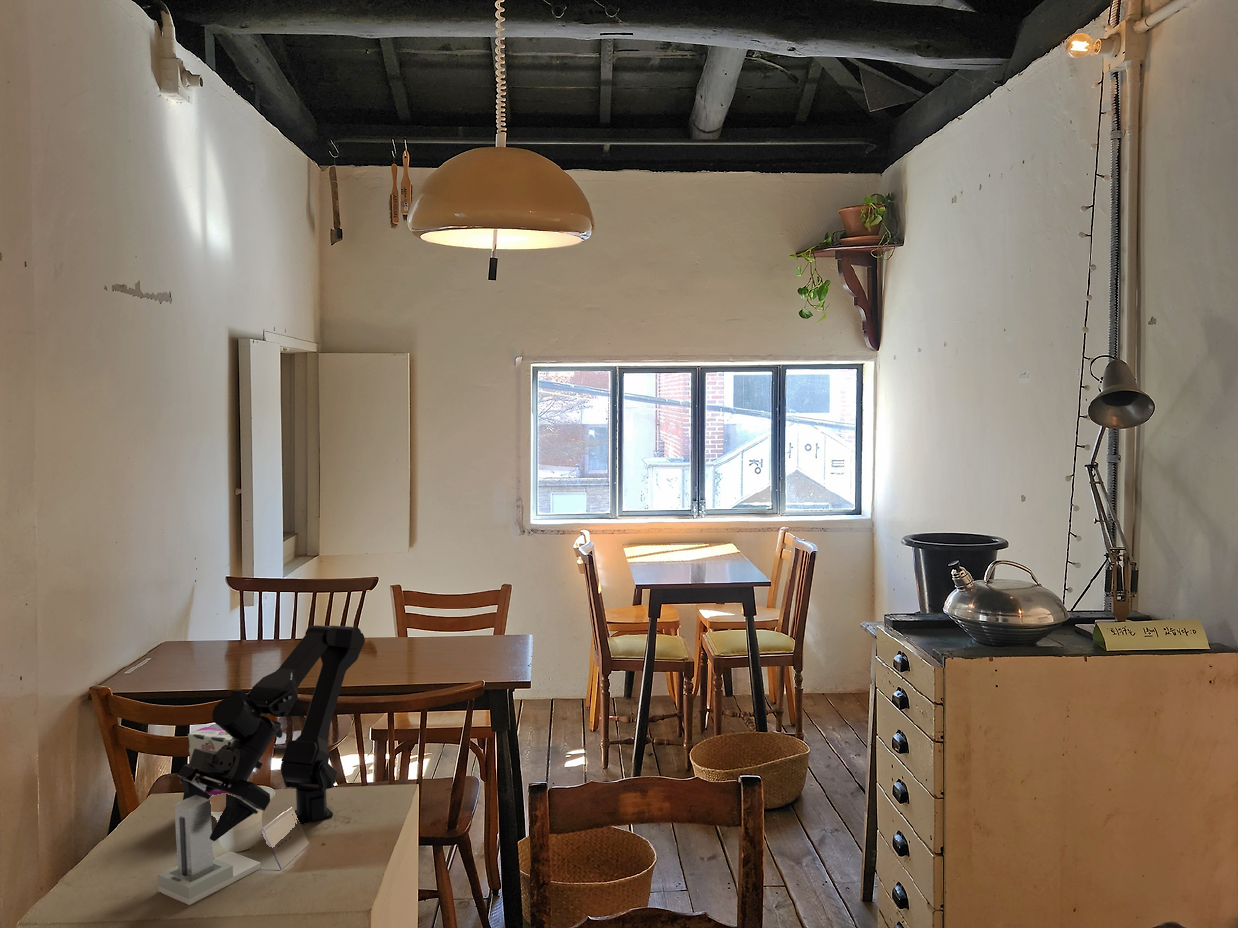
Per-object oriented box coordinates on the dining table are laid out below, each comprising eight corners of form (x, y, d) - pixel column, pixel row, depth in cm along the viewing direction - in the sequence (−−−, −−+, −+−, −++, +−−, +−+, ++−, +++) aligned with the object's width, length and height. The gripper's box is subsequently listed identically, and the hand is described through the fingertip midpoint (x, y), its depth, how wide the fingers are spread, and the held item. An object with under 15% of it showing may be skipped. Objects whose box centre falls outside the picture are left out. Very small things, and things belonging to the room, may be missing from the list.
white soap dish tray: (230, 856, 172) (229, 839, 172) (260, 867, 168) (260, 851, 167) (158, 891, 160) (157, 873, 160) (189, 904, 156) (188, 886, 156)
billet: (199, 872, 164) (195, 794, 163) (213, 879, 162) (210, 799, 161) (177, 883, 161) (173, 803, 160) (191, 890, 159) (187, 809, 157)
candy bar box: (251, 811, 191) (248, 731, 189) (233, 821, 186) (229, 740, 185) (209, 802, 195) (205, 725, 194) (190, 812, 190) (186, 733, 189)
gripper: (184, 718, 169) (128, 802, 161) (252, 737, 159) (197, 827, 151) (225, 746, 176) (173, 828, 168) (292, 766, 167) (241, 853, 158)
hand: (194, 833), depth 161 cm, fingers open, 9 cm apart
